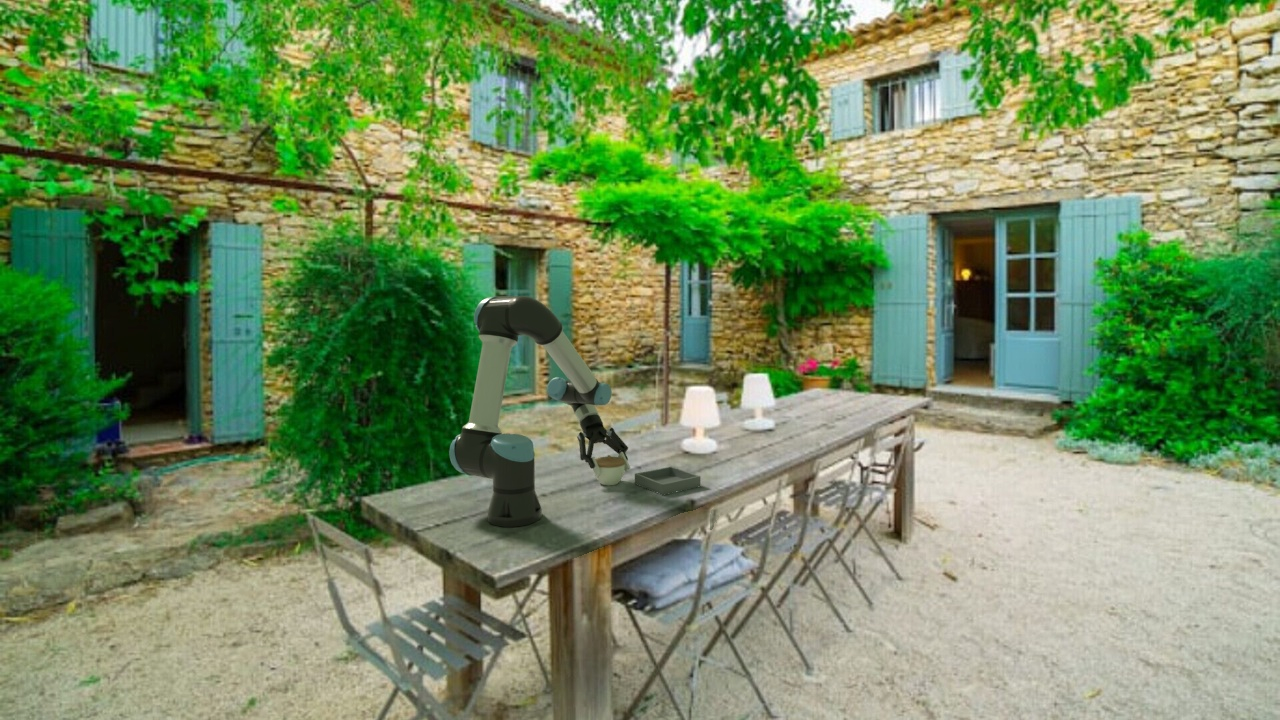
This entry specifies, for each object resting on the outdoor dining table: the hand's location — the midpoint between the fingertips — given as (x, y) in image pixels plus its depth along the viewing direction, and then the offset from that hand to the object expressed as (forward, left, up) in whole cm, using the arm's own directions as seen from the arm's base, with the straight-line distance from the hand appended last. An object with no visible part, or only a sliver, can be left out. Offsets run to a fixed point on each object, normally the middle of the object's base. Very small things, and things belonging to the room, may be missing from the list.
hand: (613, 472), depth 208 cm
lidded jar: (0, +3, -4) cm, 5 cm away
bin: (+14, -11, -4) cm, 18 cm away
